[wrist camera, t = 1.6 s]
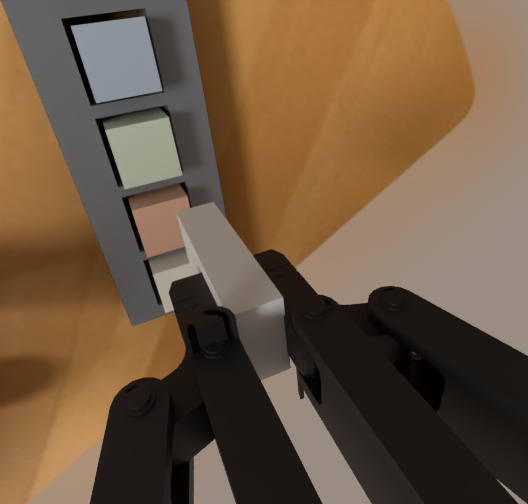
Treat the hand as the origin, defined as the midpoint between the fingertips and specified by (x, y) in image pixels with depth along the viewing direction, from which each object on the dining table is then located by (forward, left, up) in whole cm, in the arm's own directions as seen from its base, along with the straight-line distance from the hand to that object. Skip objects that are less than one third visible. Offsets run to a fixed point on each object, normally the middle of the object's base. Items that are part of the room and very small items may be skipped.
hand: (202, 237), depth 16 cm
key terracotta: (0, -6, -16) cm, 17 cm away
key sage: (0, 0, -16) cm, 16 cm away
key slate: (0, +6, -16) cm, 17 cm away
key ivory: (0, -11, -16) cm, 20 cm away
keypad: (0, -3, -18) cm, 18 cm away
